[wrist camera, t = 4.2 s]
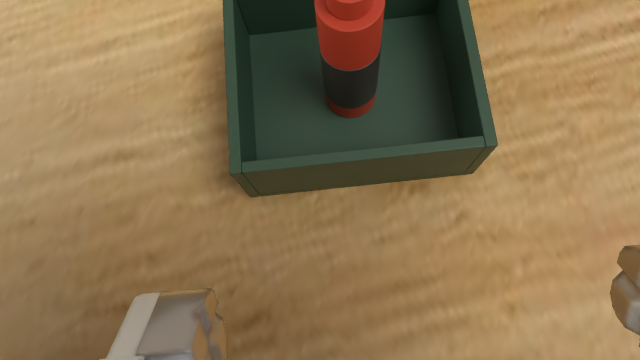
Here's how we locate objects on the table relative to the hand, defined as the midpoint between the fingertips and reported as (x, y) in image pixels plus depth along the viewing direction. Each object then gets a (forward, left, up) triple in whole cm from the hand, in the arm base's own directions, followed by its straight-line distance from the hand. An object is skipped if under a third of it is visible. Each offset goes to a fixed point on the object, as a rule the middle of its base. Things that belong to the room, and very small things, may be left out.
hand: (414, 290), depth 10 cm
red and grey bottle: (0, +12, -17) cm, 21 cm away
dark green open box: (0, +12, -17) cm, 21 cm away
